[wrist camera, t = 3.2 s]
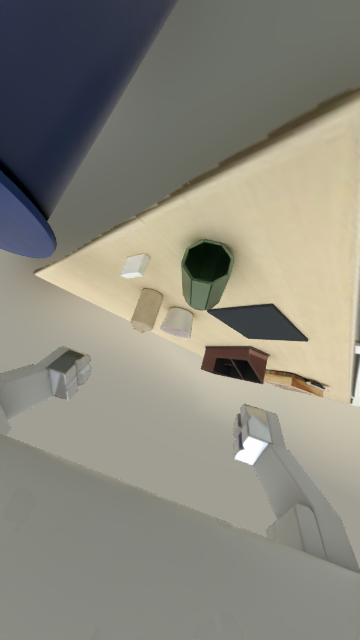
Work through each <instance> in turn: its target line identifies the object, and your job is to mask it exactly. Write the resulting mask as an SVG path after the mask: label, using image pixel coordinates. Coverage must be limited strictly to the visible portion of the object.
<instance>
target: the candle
mask: <svg viewBox="0 0 360 640" xmlns="http://www.w3.org/2000/svg"><path fill="white" fill-rule="evenodd" d="M162 300H163V296H162V294H160V293H159V292H157V291H155V290H152V289H143V290H142V293H141V295H140V298H139V300H138V303H137V306H136V308H135V311H134V314H133V316H132V319H131V324H132V326H133V329H137V330H138V331H139V332H142V333H143V332H146V331H150V330H152V329H153V327H154V324H155V321H156V318H157V315H158V312H159V309H160V306H161V303H162Z"/></svg>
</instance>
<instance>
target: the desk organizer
mask: <svg viewBox="0 0 360 640" xmlns="http://www.w3.org/2000/svg"><path fill="white" fill-rule="evenodd" d="M205 348H206V351H205V355H204V359H203V362H202V366H201V369H202V370H205V371H208V372H211V373H213V374H217V375H221V376H227V377H231V378H236V379H240V380H245V381H250V382H255V383H259V384H263V382H264V376H265V370H266V364H267V357H268V356H270V355H268V354H266V353H263V352H261V351H259V350H257V349H254V348H252V347H205Z"/></svg>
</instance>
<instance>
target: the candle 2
mask: <svg viewBox="0 0 360 640" xmlns="http://www.w3.org/2000/svg"><path fill="white" fill-rule="evenodd" d="M192 321H193V315H192V313H190V312H189V311H187V310H184V309H181V308H171V309H170V310H169V312H168V313H167V315H166V317H165V319H164V321H163V323H162V324H161V326H160V329H161V330H162V331H164V332H166V333H168V334H171V335H174V336H178V337H182V338H191V331H192Z"/></svg>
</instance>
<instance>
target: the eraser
mask: <svg viewBox="0 0 360 640" xmlns="http://www.w3.org/2000/svg"><path fill="white" fill-rule="evenodd" d="M149 259H150V257H149V256H148V255H146V254H145V253H144V254H140V255H136V256H132V257H128V258H127V260H126V263H125V265H124V267H123V270H122V272H121V274H120V275H121V276H123V277H124V278H132V277H139V276H143V274H144V272H145V269H146V267H147V264H148V261H149Z"/></svg>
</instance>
